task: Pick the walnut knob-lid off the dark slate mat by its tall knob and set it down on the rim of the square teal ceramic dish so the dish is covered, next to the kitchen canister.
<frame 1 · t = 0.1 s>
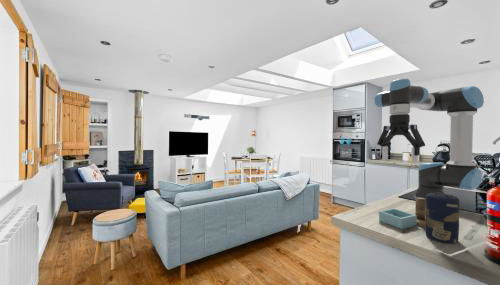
hand: (398, 161, 99), 28 cm above the counter, tool pointing down, fingers open, 13 cm apart
canister: (441, 240, 82), on the counter
lid: (420, 221, 98), point 1 cm above the counter, touching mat
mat: (420, 222, 98), on the counter
dish: (397, 224, 97), on the counter
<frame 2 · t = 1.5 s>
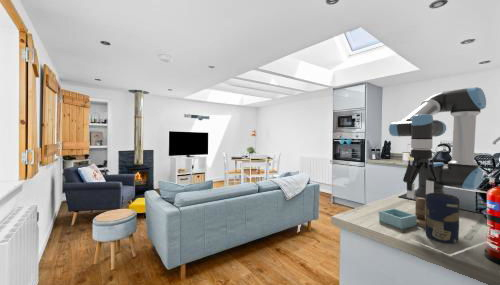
hand: (420, 196, 98), 12 cm above the counter, tool pointing down, fingers open, 13 cm apart
nothing on the counter moved.
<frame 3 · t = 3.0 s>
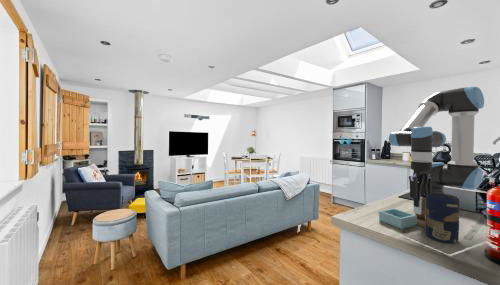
hand: (420, 212, 98), 5 cm above the counter, tool pointing down, fingers closed on lid, 4 cm apart
lid: (420, 221, 98), point 1 cm above the counter, touching gripper, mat
everything else where it was.
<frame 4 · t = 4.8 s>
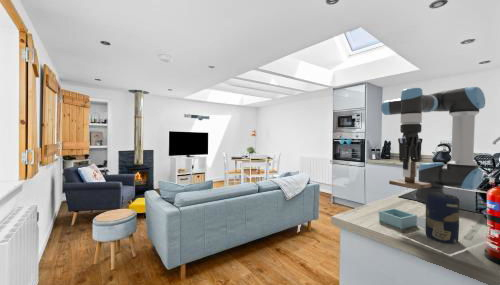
hand: (409, 176, 97), 21 cm above the counter, tool pointing down, fingers closed on lid, 4 cm apart
lid: (409, 185, 97), point 17 cm above the counter, touching gripper
everything else where it was.
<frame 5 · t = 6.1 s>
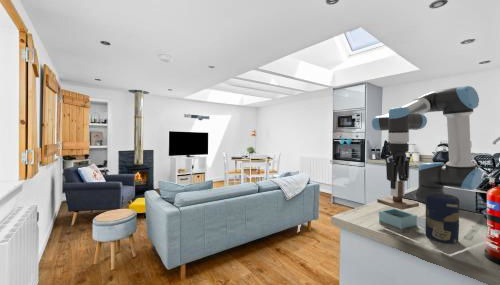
hand: (397, 195, 97), 13 cm above the counter, tool pointing down, fingers closed on lid, 4 cm apart
lid: (397, 204, 97), point 9 cm above the counter, touching gripper
everything else where it was.
when the fingers open (10 cm above the counter, at t = 6.8 s): lid drops 2 cm, resting on dish.
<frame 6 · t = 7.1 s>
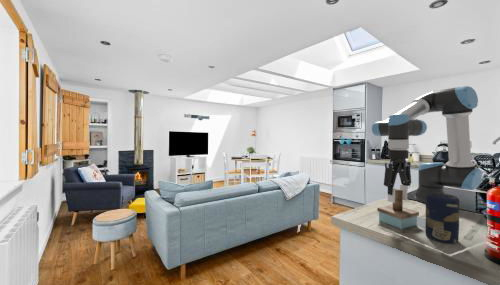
hand: (397, 200, 97), 11 cm above the counter, tool pointing down, fingers open, 7 cm apart
lid: (397, 213, 97), point 5 cm above the counter, touching dish
everything else where it was.
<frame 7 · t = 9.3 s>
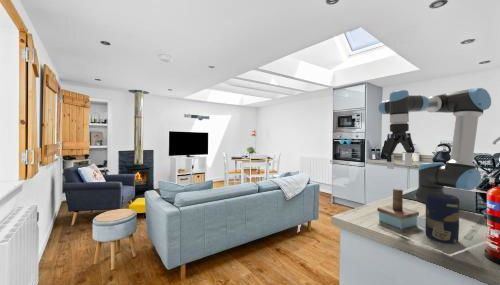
hand: (399, 167, 105), 24 cm above the counter, tool pointing down, fingers open, 13 cm apart
nothing on the counter moved.
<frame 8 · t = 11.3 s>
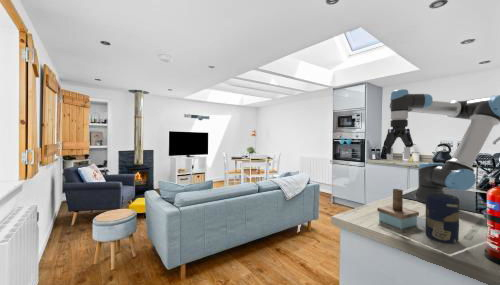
hand: (398, 159, 116), 27 cm above the counter, tool pointing down, fingers open, 13 cm apart
nothing on the counter moved.
at the end: lid 0.0 cm off-centre on the dish, point 5.0 cm above the dish's base; lid tilted 0°; the gripper is holding nothing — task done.
